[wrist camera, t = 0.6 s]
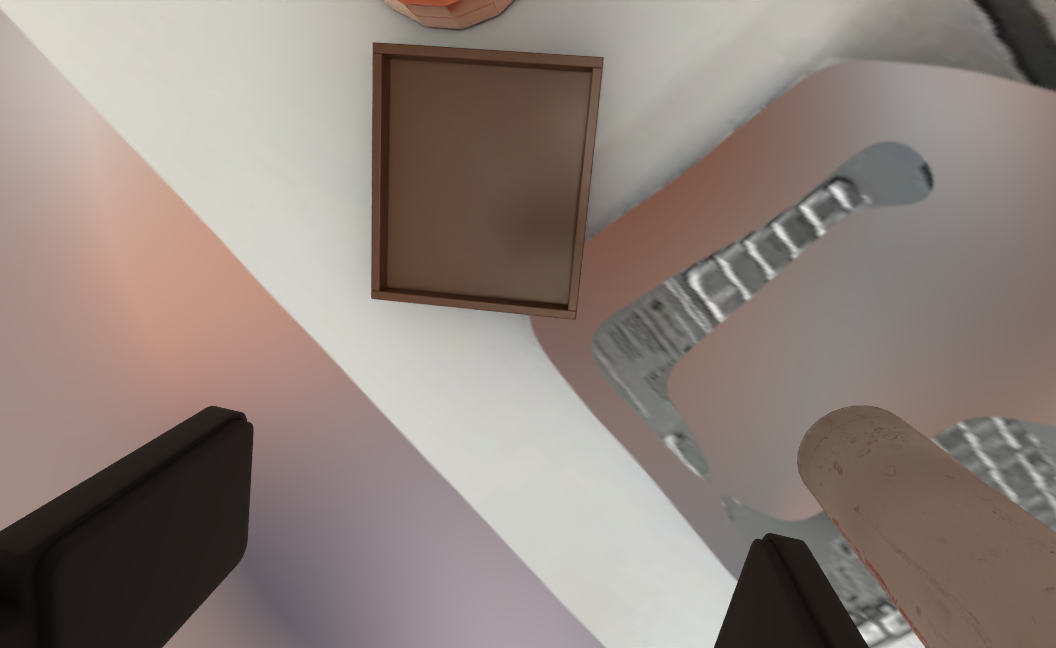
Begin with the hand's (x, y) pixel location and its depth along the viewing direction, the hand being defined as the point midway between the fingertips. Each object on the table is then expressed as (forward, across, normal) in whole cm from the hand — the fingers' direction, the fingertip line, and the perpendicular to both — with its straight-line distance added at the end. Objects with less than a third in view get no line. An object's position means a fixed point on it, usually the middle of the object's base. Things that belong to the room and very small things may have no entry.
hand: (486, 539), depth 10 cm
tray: (+29, +6, -5) cm, 30 cm away
